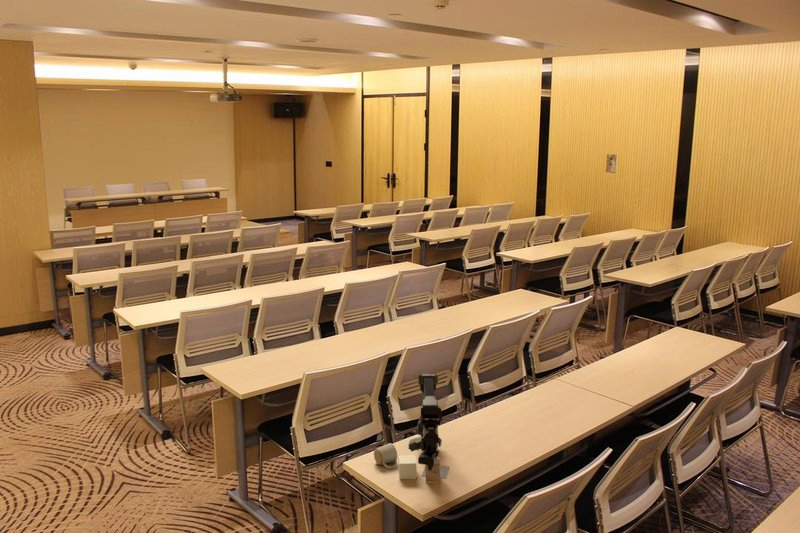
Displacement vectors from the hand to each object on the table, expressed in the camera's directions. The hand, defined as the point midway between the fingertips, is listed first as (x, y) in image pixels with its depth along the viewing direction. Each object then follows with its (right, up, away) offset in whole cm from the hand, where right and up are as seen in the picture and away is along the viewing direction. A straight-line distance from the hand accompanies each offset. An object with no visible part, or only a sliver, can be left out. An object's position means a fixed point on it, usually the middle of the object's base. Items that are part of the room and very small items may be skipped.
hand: (430, 470), depth 273 cm
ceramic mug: (-17, -4, +21) cm, 27 cm away
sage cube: (-9, -5, +11) cm, 15 cm away
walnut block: (+1, -6, +7) cm, 9 cm away
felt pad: (+3, -5, +14) cm, 15 cm away
